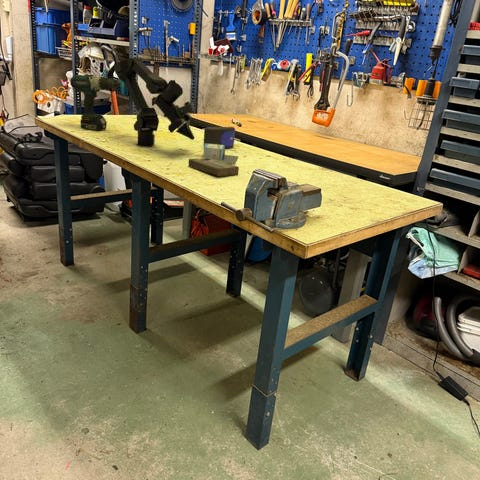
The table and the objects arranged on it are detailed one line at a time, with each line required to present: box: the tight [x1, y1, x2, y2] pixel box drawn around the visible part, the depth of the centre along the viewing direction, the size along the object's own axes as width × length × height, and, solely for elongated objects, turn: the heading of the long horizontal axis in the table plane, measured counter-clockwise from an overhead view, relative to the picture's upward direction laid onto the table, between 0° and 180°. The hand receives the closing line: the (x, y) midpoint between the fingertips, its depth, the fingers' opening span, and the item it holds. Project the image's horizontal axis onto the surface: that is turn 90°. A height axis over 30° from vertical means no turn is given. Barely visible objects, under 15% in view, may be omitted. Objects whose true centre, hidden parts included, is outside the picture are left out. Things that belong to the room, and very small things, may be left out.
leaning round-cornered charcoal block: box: [203, 126, 236, 150], centre depth 194 cm, size 16×5×9 cm, turn 125°
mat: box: [212, 154, 239, 166], centre depth 178 cm, size 13×14×1 cm
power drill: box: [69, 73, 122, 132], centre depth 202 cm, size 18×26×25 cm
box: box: [188, 157, 240, 178], centre depth 159 cm, size 11×17×3 cm, turn 43°
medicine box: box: [202, 143, 226, 159], centre depth 178 cm, size 8×4×9 cm
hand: (193, 139), depth 176 cm, fingers closed
